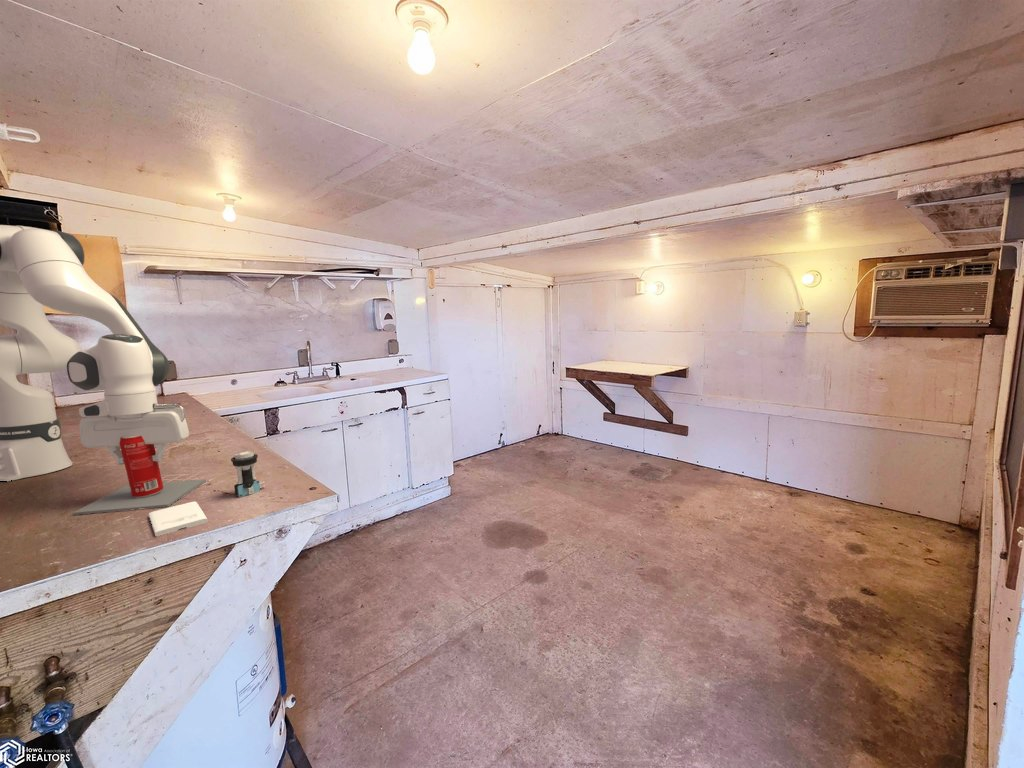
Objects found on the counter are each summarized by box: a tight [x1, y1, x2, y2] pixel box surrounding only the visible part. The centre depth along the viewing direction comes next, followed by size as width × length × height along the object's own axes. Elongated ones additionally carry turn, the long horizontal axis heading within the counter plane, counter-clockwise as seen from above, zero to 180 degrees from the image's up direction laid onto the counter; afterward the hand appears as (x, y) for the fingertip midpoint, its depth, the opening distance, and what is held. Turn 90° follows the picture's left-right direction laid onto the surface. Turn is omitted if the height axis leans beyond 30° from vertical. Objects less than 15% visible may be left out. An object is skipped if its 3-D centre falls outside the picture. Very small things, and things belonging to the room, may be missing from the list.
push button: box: [230, 450, 266, 498], centre depth 99 cm, size 7×5×10 cm
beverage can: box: [119, 435, 164, 498], centre depth 97 cm, size 6×6×15 cm
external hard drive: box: [148, 501, 208, 537], centre depth 86 cm, size 2×8×12 cm
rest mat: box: [72, 479, 207, 516], centre depth 98 cm, size 18×16×1 cm
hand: (140, 462), depth 97 cm, fingers closed on beverage can, 6 cm apart
